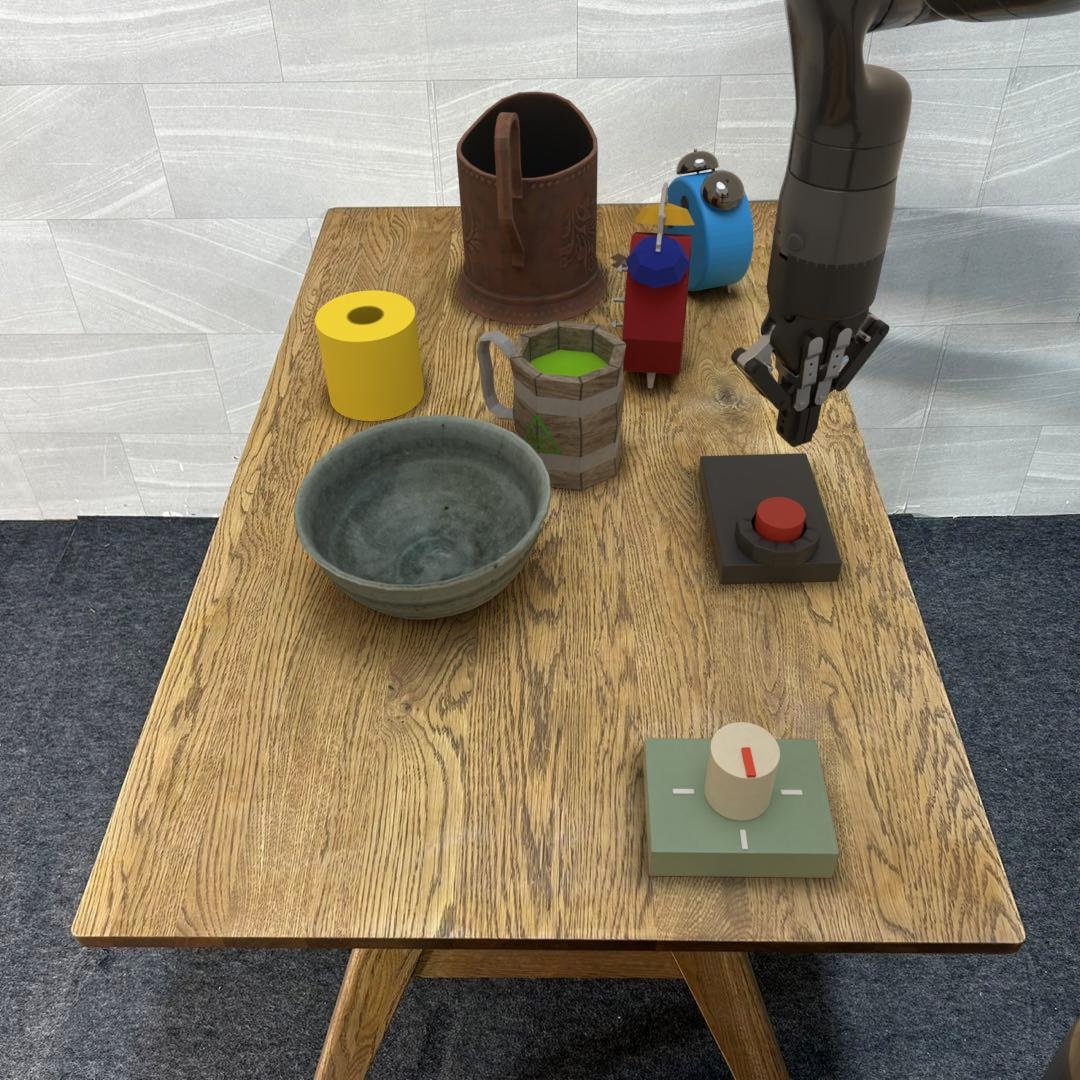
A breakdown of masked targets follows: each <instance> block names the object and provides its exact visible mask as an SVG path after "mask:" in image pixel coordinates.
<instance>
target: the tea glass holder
mask: <svg viewBox="0 0 1080 1080" xmlns="http://www.w3.org/2000/svg"><path fill="white" fill-rule="evenodd" d="M598 145H599V144H598V137H597V135H596V133H595V131H594V128H593V126H592V125H591V123H590V122H589V120H588V118H587V117H586V116H585V114H584V113H583V112H582V111H581V110H580V109H579V108H578V107H577V106H576V105H575V104H574V103H573V102H572V101H571V100H570V99H568V98H565V97H563V96H562V95H559V94H558V93H554V92H546V91H519V92H516V93H512V94H510V95H507V96H505V97H502V98H500V99H499V100H498V101H497V102H495V103H494V104H492V105H491V106H490V107H488V109H486V110H485V111H484V112H483V113H482V114H481V115H480V116H479V117H478V118H477V119H476V120H475V121H474V122H473V123H472V124H471V125H470V126H469V128H468V129H467V130H465V132H464V133H463V134H462V136H461V137H460V139H459V140H458V142H457V145H456V149H455V152H456V153H455V154H456V166H457V177H458V179H457V180H458V191H459V204H460V217H461V218H460V219H461V229H462V242H463V255H464V261H463V266H462V272H461V274H460V276H459V278H458V280H457V282H456V288H455V292H456V295H457V298H458V300H459V302H460V303H461V304H462V305H463V306H465V308H467V310H468V311H470V312H472V313H474V314H476V315H478V316H480V317H482V318H484V319H488V320H491V321H495V322H499V323H504V324H512V325H513V324H514V325H546V324H549V323H551V322H554V321H566V320H569V319H572V318H575V317H578V316H580V315H582V314H585V313H586V312H588V311H589V310H592V309H593V308H595V306H597V305H598V304H599V303H600V302H601V301H602V300H604V297H605V295H606V292H607V290H608V284H607V283H608V282H607V278H606V276H605V274H604V273H603V271H602V270H601V268H600V267H599V266H600V265H599V258H598V256H597V234H598V233H597V232H598V231H597V230H598V229H597V227H598V223H597V222H598V165H599V164H598V163H599V161H598V156H599V155H598V153H599V147H598Z"/></svg>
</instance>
